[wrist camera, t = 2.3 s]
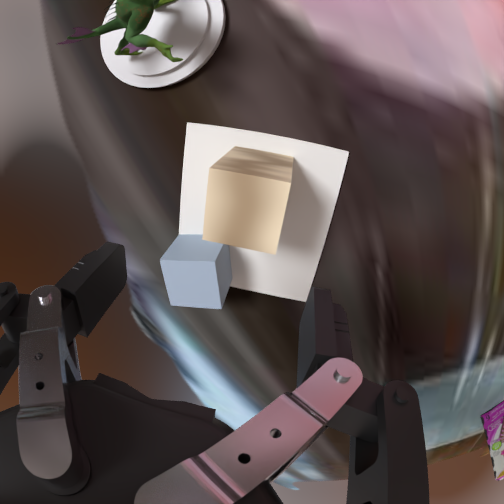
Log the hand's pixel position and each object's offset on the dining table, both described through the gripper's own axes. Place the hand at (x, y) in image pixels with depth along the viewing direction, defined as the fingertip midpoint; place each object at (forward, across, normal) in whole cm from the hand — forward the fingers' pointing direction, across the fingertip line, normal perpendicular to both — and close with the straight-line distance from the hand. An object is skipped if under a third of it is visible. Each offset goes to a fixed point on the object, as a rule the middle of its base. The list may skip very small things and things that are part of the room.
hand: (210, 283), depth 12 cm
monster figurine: (+16, +11, -13) cm, 24 cm away
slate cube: (+16, +4, +9) cm, 19 cm away
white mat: (+16, 0, +4) cm, 17 cm away
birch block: (+16, 0, 0) cm, 16 cm away
